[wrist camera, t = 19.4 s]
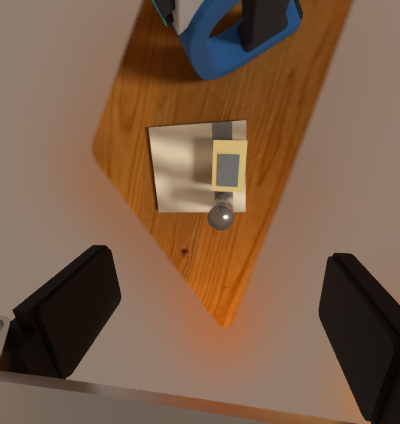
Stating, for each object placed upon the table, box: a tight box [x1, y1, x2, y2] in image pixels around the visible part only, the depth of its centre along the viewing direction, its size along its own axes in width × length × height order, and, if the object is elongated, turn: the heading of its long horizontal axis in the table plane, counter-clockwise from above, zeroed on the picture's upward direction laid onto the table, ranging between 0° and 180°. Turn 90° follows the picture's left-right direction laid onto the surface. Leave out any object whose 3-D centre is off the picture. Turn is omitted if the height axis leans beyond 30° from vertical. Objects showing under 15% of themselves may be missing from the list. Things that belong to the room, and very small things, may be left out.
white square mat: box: [149, 120, 246, 212], centre depth 35 cm, size 14×15×1 cm
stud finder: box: [212, 140, 247, 192], centre depth 32 cm, size 7×4×4 cm, turn 178°
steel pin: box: [208, 192, 233, 230], centre depth 32 cm, size 3×3×9 cm
